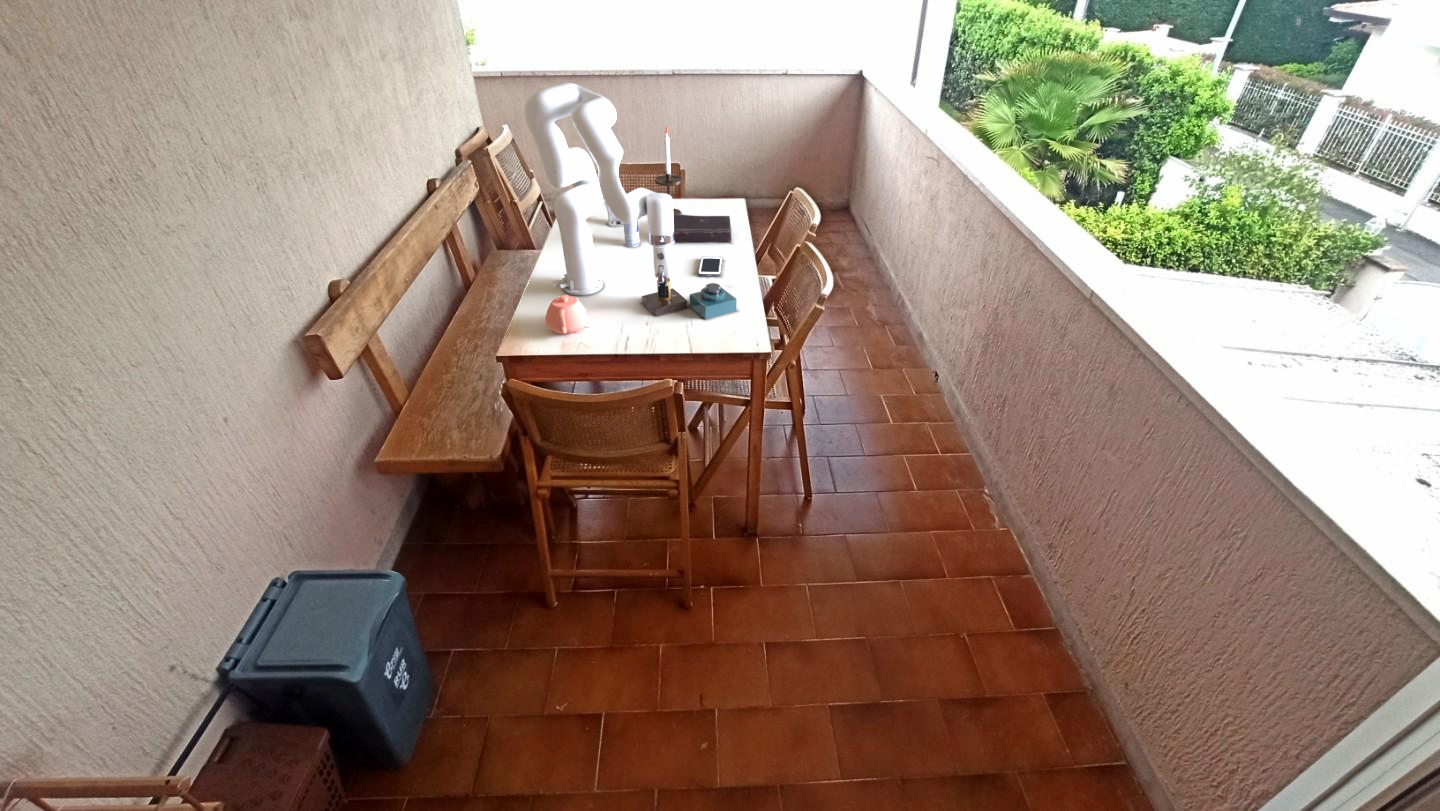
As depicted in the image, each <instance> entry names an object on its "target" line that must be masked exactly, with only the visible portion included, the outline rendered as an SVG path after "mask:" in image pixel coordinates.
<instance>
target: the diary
mask: <svg viewBox="0 0 1440 811" xmlns="http://www.w3.org/2000/svg"><path fill="white" fill-rule="evenodd" d="M673 221H674V243H673V244H675V243H691V244H693V243H694V244H695V243H696V244H699V243H701V244H702V243H705V244H706V243H725V244H727V243H732V228H731V227H732V226H731V216H730V215H690V214H681V215H673Z"/></svg>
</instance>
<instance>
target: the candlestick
mask: <svg viewBox="0 0 1440 811" xmlns="http://www.w3.org/2000/svg"><path fill="white" fill-rule="evenodd" d="M668 131H669V124H667V125H666V127H665V135H664V137H663V139H664V159H665V171H663V172H662V173H663V174H664V175H659V176H657V177H655V178H654V183H655V184H656V185H658V186H664V187H667V188H666V191H667V193H666V194H668V195H670V196H671V197H672V198H673V196H674V195H673V194H672V190H671V188H672V187H673V186H679V185H680V184H682V183H683V178H682V176H679V175H675V174H673V173H674V171H672V170H671V150H670V148H671V147H670V137H669V135H668ZM673 215H682V211H681V210H680V209H678V208H673Z"/></svg>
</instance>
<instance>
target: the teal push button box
mask: <svg viewBox="0 0 1440 811" xmlns="http://www.w3.org/2000/svg"><path fill="white" fill-rule="evenodd" d="M689 307H690V308H691V309H693V311H695V312H696V313H697V314H698V315H700V316H701V317H702V318H703V319H705V320H709V319H713V318H715V317H720V316H723V315H727V314H730V313H734V312H737V298H736V297H735V296H734V295H732V294H731V293H729V292H728V291H727V290H726V289H724V288H723V287H722V286H720V293H719V294H717V295H709V294H706V286H704V287H703V288H701V290H700V291H697V292H693V293H690V294H689Z"/></svg>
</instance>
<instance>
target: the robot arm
mask: <svg viewBox="0 0 1440 811" xmlns="http://www.w3.org/2000/svg"><path fill="white" fill-rule="evenodd" d="M523 113H524V119H525V122H526V125H527V127H528V130H529V132H530V134H531V136H532V138H533V140H534V142H535V145H536V149H537V152H538V155H539V158H540V160H541V163H542V166H543V169H544V172H545V175H546V177H547V179H548V182H549V183H550V184H551V185H552V186H553V187H555V188H558V189H562V188H565V187H568V186H570V185H572V186H573V187H571V188H569V189H568V190H565V191H564V192H562V193H560V194H559V195H558V196H557V197H556V198H555V199H554V203H553V213H554V216H555V219H556V222H557V225H558V229H559V233H560V239H561V245H562V251H563V258H564V265H565V272H566V274H565V273H564V274H563V277H562V278H561V279H556V280H553V281H552V284H553V287H554V288H555V287H559V288H560V289H563V290H564V291H565V292H566V293H568V294H570V295H572V296H573V295H574V296H589V295H592V294H596V293H597V292H599V291H600V290H602V289H603V281H602V279H601V278H598V276H597V266H596V259H595V249H594V243H593V242H594V241H593V234H592V231H591V229H590V227H589V225H588V223H587V221H586V220H587V219H588V218H589V217H591V216H592V215H594V214H596V213H597V212H599V211H600V210H601V209H602V207H603V204H604V203H605V202H606V204H607V205H608V207H609V209H610V210H611V212H612V213H613V215H614V216H615V217H616V218H617V219H618V220H619V221H620V222H622V223H626V224H629V223H632V222H634V221H636V220H637V219H638V220H639V219H641V218H642V217H645V216H646V217H647V218H646V220H647V234H648V235H647V236H648V244H649V245H650V246H652V253H653V254H652V255H653V269H654V270H653V271H654V278H657V280H658V288H657V292H658V297H659V298H668V297H669V288H668V285H667V278H668V279H670V280H671V278H672V276H673V271H674V260H673V245H674V244H675V243H674V221H673V209H674V201H673V197H671V196H670V195H668V194H667V193H665V192H655V191H653V190H650V189H647V188H645V187H637V188H635V189H633V190H631V191H629V192H627V193H626V191H625V189H624V187H623V186H622V182H621V181H620V176H619V168H620V164H621V161H622V159H623V156H624V149H623V147H622V146H621V144H620V143H619V141H618V139H617V137H616V135H615V133H614V132H613V130H612V128H611V127H613V126H614V125H615V123H616V122H617V110H616V107H614V104H613V103H612V102H611V100H609V99H608V98H606V97H605V96H603V95H602V94H599V93H597V92H595V91H593V90H590V89H588V88H586V87H584V86H581V85H579V84H577V83H573V82H562V83H558V84H555V85H551V86H547V87H544V88H541V89H538V90H536V91H535V92H533V93H532V94H531V95H530V96H529V97H528V98H527V100H526V102H525V104H524V112H523ZM567 117H570V118H571V122H572V125H573V127H574V129H575V130H576V132H577V134H578V136H579V137H580V139H581V140H582V142H583V144H584V146H585V147H586V148H587V150H588V152H589V153H588V152H587V151H586V150H585V149H583V148H581V147H578V146H570V147H568V146H569V145H568V144H567V140H566V138H565V135H564V133H563V131H562V130H561V129H560V127H559V126H558V125H557V124H556V123H555V122H557V121H558V120H561V119H564V118H565V119H566V118H567ZM589 154H590V155H591V157H592V158H591V157H590V155H589ZM592 159H593V160H592ZM593 161H594V162H595V165H596V167H597V171H596V168H595V165H594V163H593ZM664 279H665V280H664Z"/></svg>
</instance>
